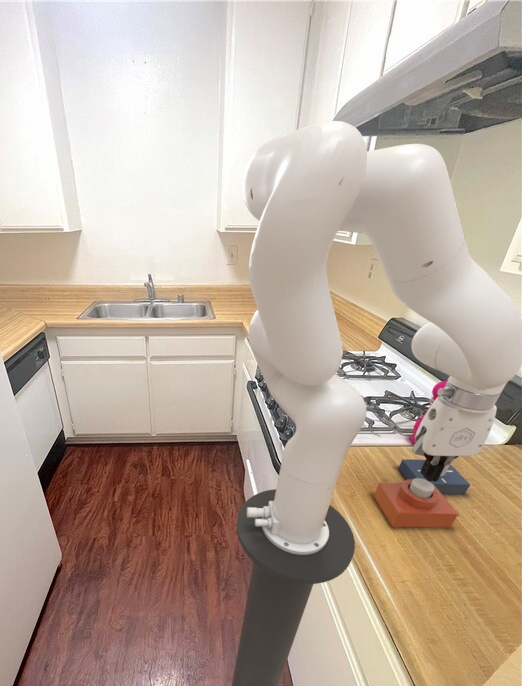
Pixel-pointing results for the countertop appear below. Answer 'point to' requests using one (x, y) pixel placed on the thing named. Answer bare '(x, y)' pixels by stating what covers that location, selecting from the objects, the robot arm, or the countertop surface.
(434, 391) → the pepper mill
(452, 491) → the tap panel
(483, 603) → the countertop surface
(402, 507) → the orange button housing
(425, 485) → the push button
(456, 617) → the countertop surface
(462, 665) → the countertop surface
